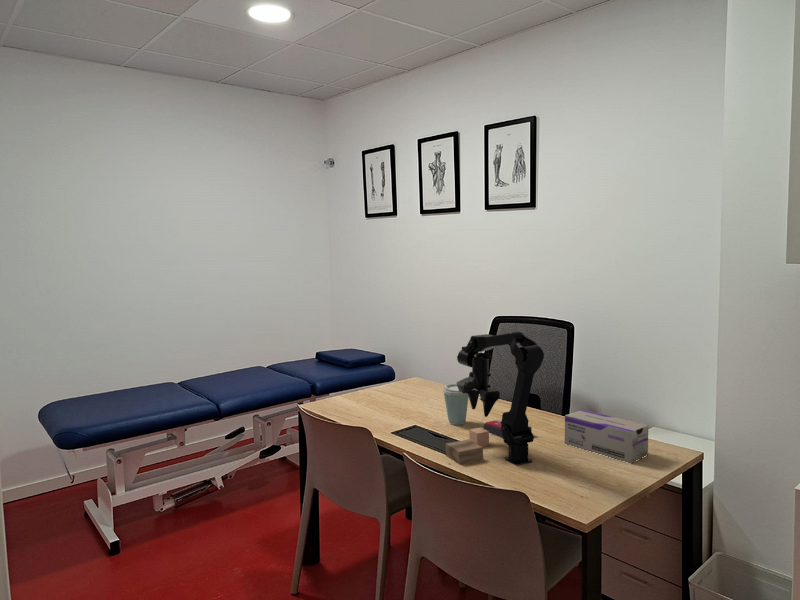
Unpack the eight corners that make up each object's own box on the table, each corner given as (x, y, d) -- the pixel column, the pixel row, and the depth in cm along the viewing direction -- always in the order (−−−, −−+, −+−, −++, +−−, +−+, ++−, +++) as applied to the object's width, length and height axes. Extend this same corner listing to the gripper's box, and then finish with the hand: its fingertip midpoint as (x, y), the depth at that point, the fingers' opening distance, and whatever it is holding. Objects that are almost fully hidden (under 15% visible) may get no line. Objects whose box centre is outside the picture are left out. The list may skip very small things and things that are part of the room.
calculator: (505, 417, 230) (532, 425, 217) (505, 428, 230) (532, 436, 217) (483, 421, 224) (509, 430, 211) (483, 432, 225) (509, 441, 212)
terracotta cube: (489, 445, 208) (489, 431, 208) (477, 447, 206) (477, 433, 206) (481, 440, 213) (481, 427, 212) (469, 443, 211) (469, 429, 210)
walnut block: (482, 460, 194) (482, 447, 194) (459, 465, 190) (459, 451, 190) (468, 452, 202) (468, 439, 202) (445, 456, 198) (445, 443, 198)
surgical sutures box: (564, 444, 208) (564, 415, 207) (582, 438, 214) (582, 409, 213) (630, 464, 188) (631, 432, 187) (647, 456, 195) (648, 425, 194)
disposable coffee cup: (474, 421, 236) (474, 384, 235) (463, 428, 227) (463, 390, 226) (450, 417, 242) (450, 381, 240) (438, 424, 233) (438, 387, 231)
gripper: (448, 366, 213) (447, 408, 215) (472, 378, 196) (471, 423, 198) (475, 363, 217) (475, 404, 219) (501, 375, 200) (500, 419, 202)
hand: (479, 412), depth 209 cm, fingers open, 9 cm apart
